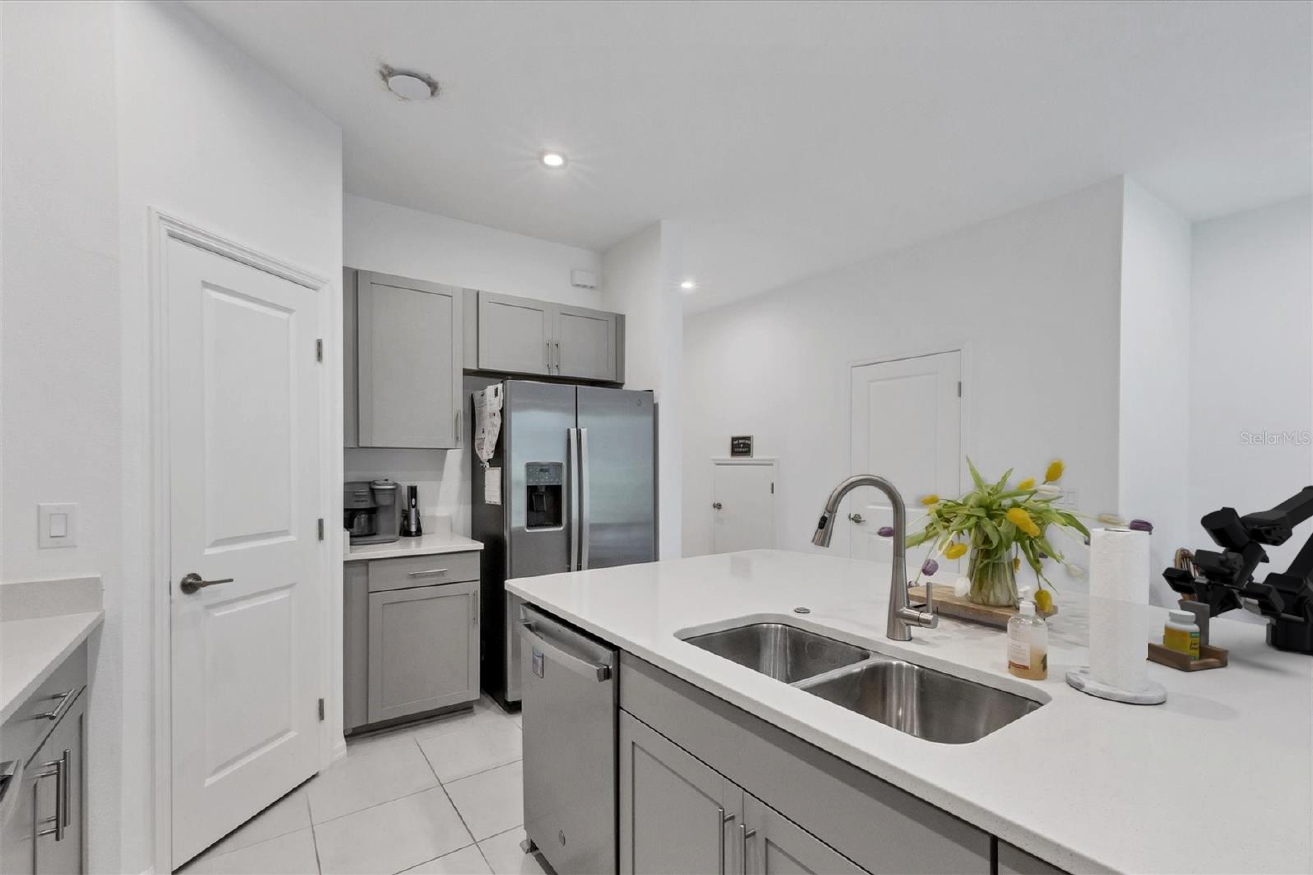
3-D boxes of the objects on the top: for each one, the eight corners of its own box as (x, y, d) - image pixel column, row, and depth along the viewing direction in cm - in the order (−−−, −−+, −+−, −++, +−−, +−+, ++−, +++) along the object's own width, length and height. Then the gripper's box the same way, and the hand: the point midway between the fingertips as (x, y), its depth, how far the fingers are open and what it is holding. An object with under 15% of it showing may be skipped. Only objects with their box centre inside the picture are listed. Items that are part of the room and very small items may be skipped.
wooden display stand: (1170, 648, 129) (1171, 596, 129) (1227, 665, 120) (1228, 609, 120) (1130, 653, 125) (1132, 599, 125) (1186, 671, 116) (1187, 612, 116)
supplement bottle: (1169, 653, 126) (1170, 607, 126) (1203, 662, 122) (1204, 613, 122) (1159, 658, 123) (1160, 610, 123) (1193, 666, 119) (1194, 617, 119)
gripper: (1169, 529, 135) (1132, 582, 132) (1276, 544, 117) (1237, 604, 114) (1192, 564, 137) (1156, 616, 134) (1301, 583, 120) (1263, 644, 116)
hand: (1199, 619), depth 124 cm, fingers closed, pressing on wooden display stand
